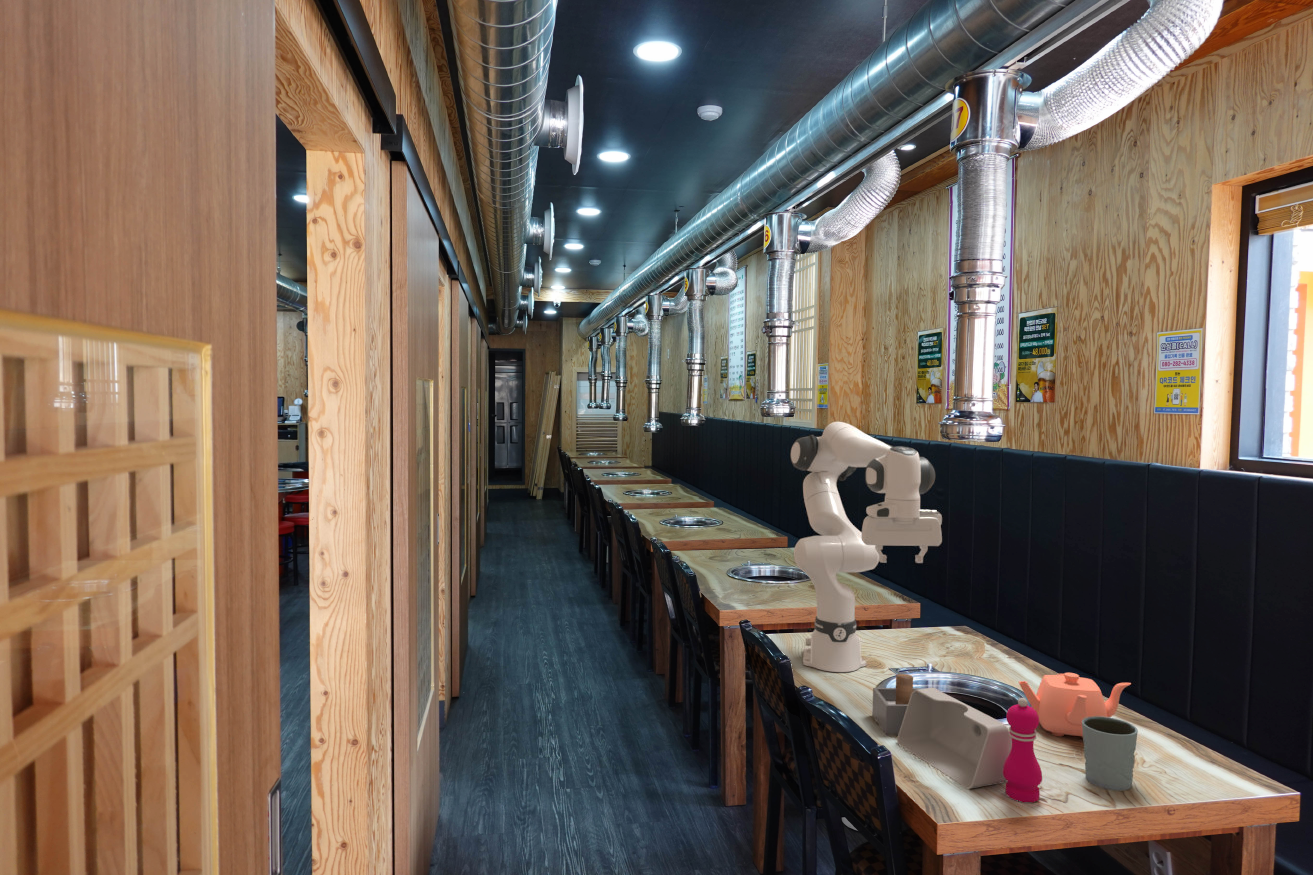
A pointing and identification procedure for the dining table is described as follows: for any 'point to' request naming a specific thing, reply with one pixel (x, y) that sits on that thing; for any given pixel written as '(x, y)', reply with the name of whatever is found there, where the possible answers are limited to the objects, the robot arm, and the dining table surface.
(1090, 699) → the teapot
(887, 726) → the box
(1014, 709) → the pepper mill
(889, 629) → the dining table surface
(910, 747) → the beige storage bin
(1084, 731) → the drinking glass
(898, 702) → the walnut peg
